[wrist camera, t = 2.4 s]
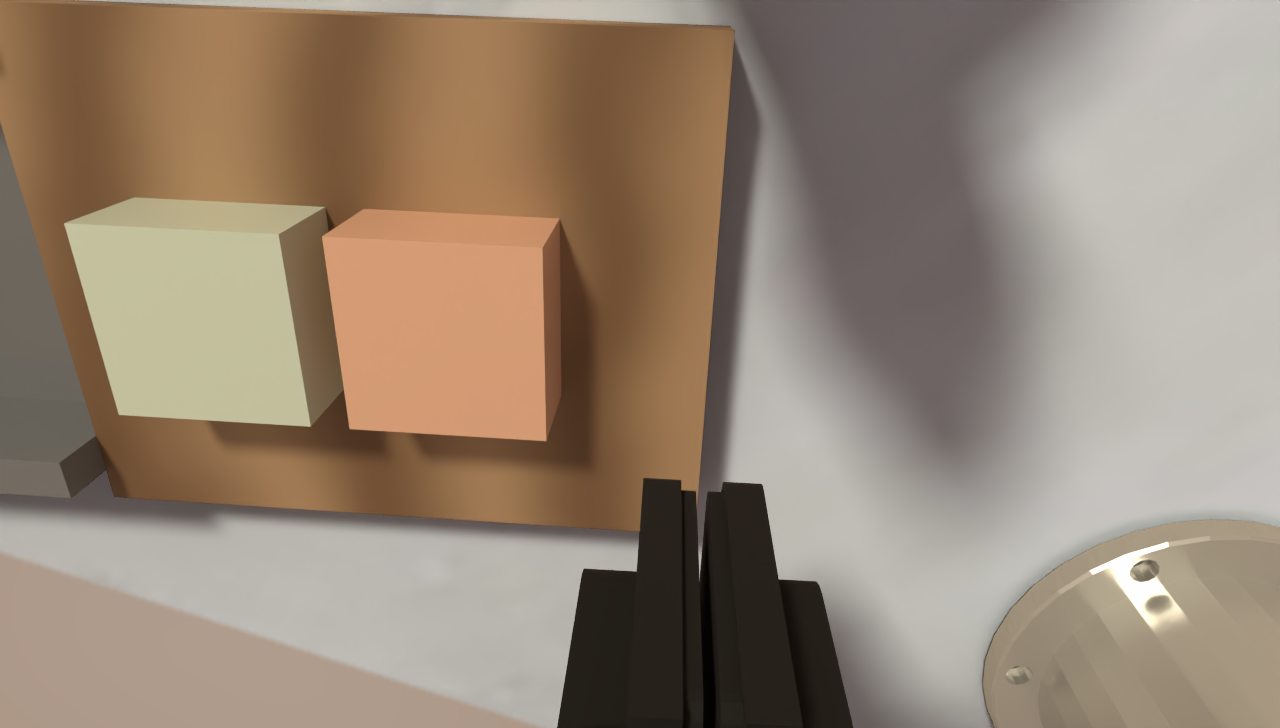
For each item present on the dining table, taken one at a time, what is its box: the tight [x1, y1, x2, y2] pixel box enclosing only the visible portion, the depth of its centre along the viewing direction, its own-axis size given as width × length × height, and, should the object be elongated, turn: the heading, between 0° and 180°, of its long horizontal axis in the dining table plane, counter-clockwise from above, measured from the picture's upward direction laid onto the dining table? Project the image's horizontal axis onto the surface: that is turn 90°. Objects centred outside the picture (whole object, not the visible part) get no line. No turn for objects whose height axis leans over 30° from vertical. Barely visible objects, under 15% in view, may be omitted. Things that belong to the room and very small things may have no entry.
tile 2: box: [322, 209, 561, 441], centre depth 20 cm, size 5×5×2 cm
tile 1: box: [64, 197, 344, 427], centre depth 20 cm, size 5×5×2 cm
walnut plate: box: [0, 0, 735, 531], centre depth 22 cm, size 18×14×2 cm
